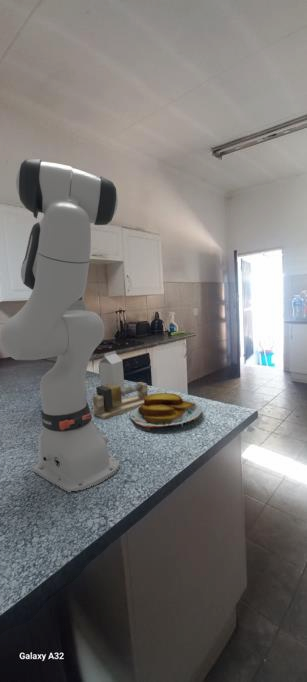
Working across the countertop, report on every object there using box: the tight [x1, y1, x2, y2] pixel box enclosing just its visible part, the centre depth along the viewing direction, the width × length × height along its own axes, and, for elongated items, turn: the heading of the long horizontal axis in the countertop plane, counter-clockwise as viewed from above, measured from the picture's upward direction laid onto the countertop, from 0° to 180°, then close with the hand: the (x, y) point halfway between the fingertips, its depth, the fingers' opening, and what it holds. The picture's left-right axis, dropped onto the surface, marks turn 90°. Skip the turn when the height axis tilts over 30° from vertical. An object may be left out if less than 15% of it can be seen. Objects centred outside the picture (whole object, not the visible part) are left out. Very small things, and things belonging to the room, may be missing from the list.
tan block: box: [102, 383, 123, 407], centre depth 108 cm, size 6×4×7 cm, turn 41°
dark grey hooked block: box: [95, 385, 113, 409], centre depth 106 cm, size 6×2×7 cm, turn 41°
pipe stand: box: [91, 381, 149, 420], centre depth 111 cm, size 9×22×7 cm, turn 131°
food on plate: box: [129, 392, 203, 432], centre depth 101 cm, size 25×25×7 cm
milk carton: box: [98, 350, 125, 389], centre depth 125 cm, size 7×7×19 cm
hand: (63, 333), depth 114 cm, fingers closed
